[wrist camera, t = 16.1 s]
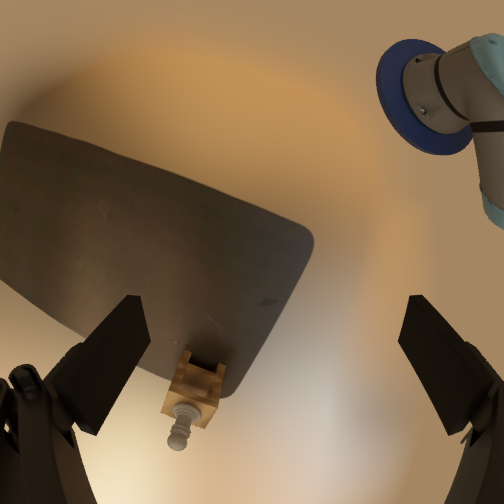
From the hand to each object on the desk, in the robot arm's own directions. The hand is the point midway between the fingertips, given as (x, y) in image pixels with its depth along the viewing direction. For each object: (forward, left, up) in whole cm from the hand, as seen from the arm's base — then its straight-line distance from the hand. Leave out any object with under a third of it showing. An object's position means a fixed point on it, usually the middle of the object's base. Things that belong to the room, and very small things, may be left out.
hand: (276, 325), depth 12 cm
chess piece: (+14, +33, -21) cm, 42 cm away
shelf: (+14, +33, -32) cm, 49 cm away
